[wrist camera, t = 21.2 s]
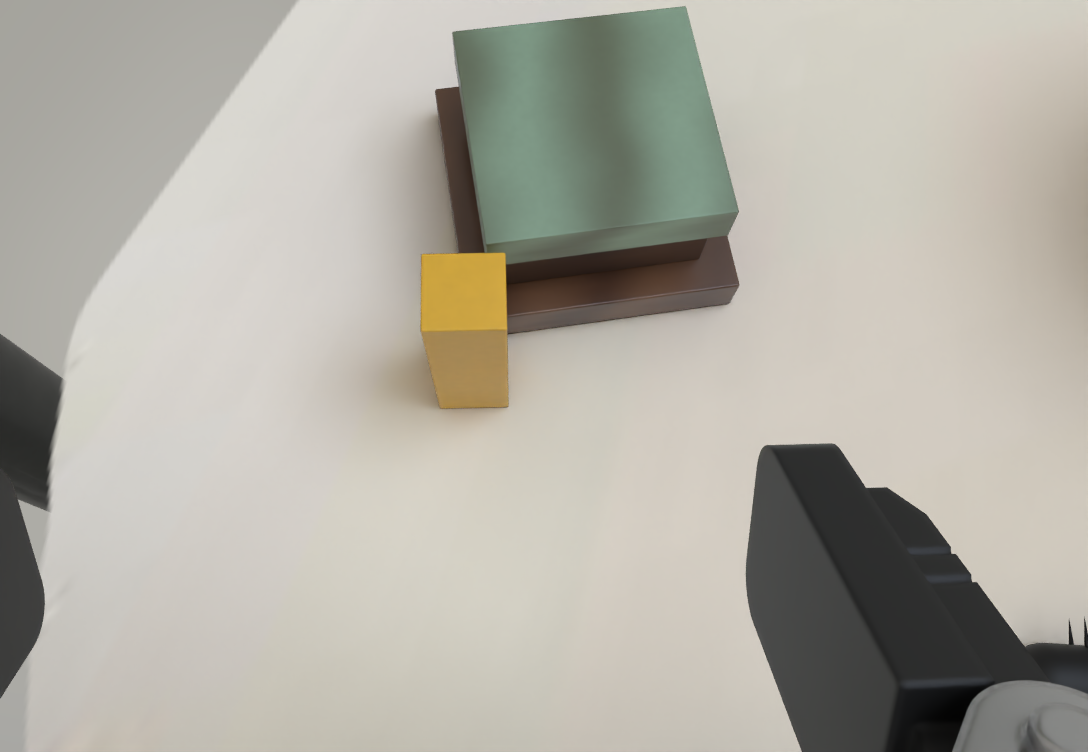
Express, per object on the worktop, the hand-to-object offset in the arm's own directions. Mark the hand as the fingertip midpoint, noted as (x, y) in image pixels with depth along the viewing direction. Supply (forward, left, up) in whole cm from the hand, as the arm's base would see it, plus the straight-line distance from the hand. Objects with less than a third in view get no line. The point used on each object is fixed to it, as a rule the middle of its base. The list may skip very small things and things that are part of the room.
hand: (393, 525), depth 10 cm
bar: (-2, +12, -29) cm, 31 cm away
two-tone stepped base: (+2, +21, -29) cm, 35 cm away
